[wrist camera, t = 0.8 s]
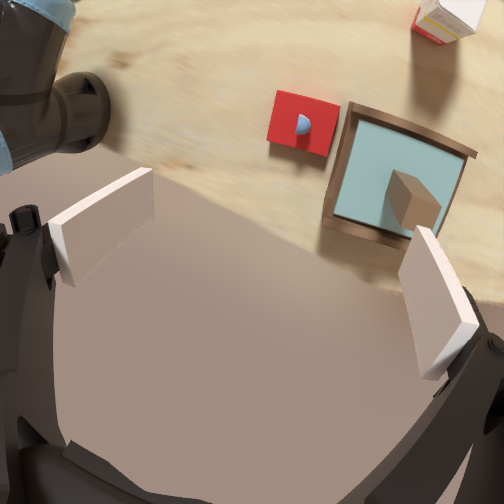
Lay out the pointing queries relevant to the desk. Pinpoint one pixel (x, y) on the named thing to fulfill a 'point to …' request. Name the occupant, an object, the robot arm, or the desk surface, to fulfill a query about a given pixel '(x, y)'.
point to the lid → (396, 180)
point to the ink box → (448, 19)
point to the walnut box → (340, 165)
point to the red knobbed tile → (302, 122)
